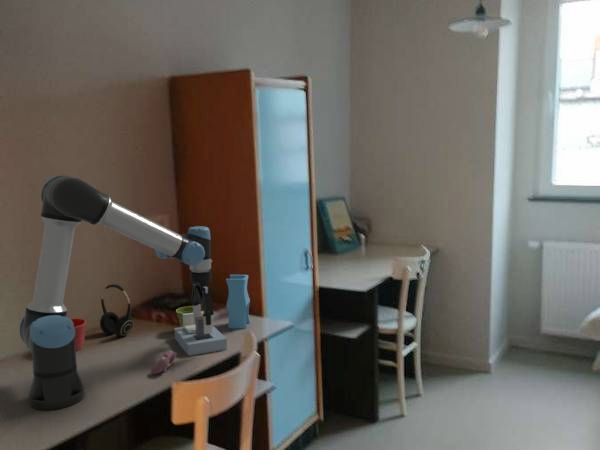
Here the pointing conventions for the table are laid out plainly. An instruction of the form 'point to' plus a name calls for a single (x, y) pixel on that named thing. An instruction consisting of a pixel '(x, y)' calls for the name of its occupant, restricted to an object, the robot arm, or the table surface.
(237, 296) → the vase
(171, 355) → the pink oblong lump
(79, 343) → the flower pot
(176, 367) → the table surface
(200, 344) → the socket
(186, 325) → the cream stepped block
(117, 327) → the headphones
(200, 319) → the plug
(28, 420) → the table surface
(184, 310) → the plant pot
